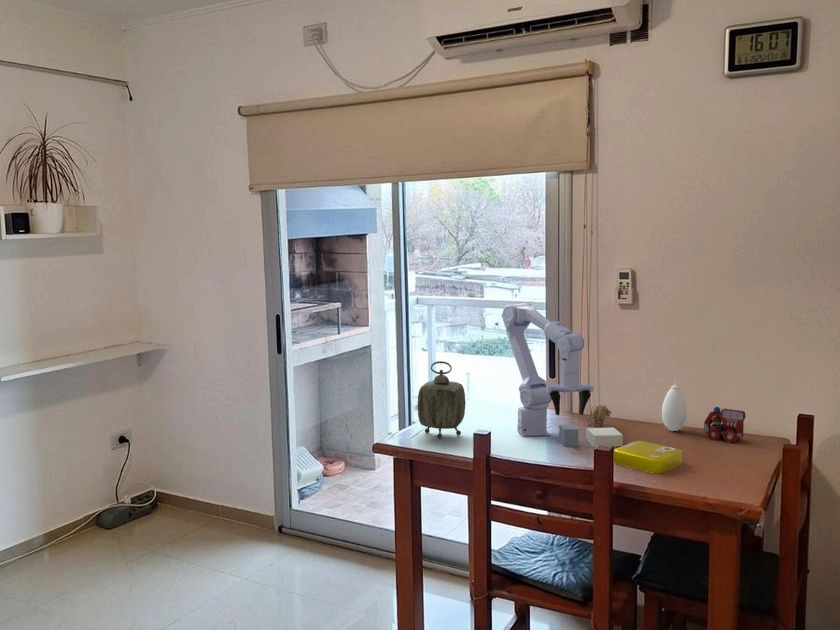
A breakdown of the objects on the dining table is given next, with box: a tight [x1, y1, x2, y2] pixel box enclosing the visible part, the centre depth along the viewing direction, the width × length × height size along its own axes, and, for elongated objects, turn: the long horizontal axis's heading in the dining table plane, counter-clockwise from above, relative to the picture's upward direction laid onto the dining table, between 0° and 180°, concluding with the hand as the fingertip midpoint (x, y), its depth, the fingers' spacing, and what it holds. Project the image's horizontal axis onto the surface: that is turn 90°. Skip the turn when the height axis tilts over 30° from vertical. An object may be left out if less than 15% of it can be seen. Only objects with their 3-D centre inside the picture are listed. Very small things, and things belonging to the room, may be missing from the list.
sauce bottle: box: [661, 377, 688, 432], centre depth 245 cm, size 8×8×18 cm
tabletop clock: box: [416, 360, 466, 439], centre depth 238 cm, size 14×9×25 cm, turn 75°
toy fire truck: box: [703, 406, 746, 444], centre depth 235 cm, size 7×12×10 cm, turn 49°
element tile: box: [613, 440, 683, 474], centre depth 211 cm, size 15×15×5 cm
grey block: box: [558, 423, 579, 447], centre depth 231 cm, size 4×6×6 cm
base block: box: [585, 427, 624, 448], centre depth 232 cm, size 9×9×4 cm
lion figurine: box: [588, 404, 612, 428], centre depth 250 cm, size 15×5×9 cm, turn 8°
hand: (569, 414), depth 230 cm, fingers open, 7 cm apart
